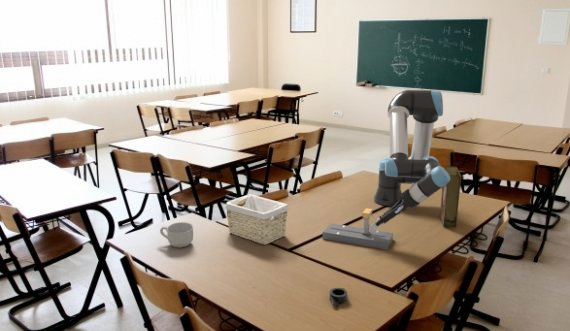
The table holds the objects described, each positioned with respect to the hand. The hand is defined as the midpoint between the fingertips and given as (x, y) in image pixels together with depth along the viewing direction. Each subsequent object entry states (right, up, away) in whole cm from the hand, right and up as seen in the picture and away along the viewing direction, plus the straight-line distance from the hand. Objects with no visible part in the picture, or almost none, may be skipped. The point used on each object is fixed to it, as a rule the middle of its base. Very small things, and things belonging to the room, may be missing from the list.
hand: (371, 228), depth 201 cm
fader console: (-5, -5, +4) cm, 8 cm away
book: (+40, 0, +24) cm, 47 cm away
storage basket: (-49, -4, +9) cm, 50 cm away
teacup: (-82, -7, -2) cm, 82 cm away
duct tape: (-19, -18, -44) cm, 51 cm away
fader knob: (-2, -2, +2) cm, 3 cm away
